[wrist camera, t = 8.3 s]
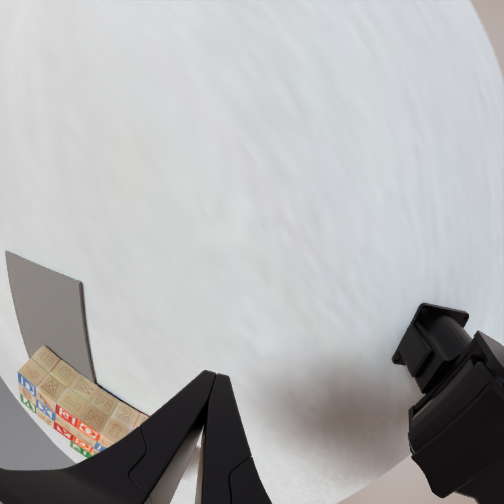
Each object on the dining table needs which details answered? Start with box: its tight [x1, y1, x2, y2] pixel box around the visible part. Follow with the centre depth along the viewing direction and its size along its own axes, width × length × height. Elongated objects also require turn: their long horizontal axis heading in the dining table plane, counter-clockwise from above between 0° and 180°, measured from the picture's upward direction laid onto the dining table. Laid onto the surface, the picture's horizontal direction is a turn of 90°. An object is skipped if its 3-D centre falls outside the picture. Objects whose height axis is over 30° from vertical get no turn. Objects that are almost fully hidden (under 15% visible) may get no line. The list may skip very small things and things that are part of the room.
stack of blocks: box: [18, 345, 149, 458], centre depth 27 cm, size 21×6×12 cm
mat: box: [5, 251, 96, 384], centre depth 28 cm, size 13×24×1 cm, turn 168°
